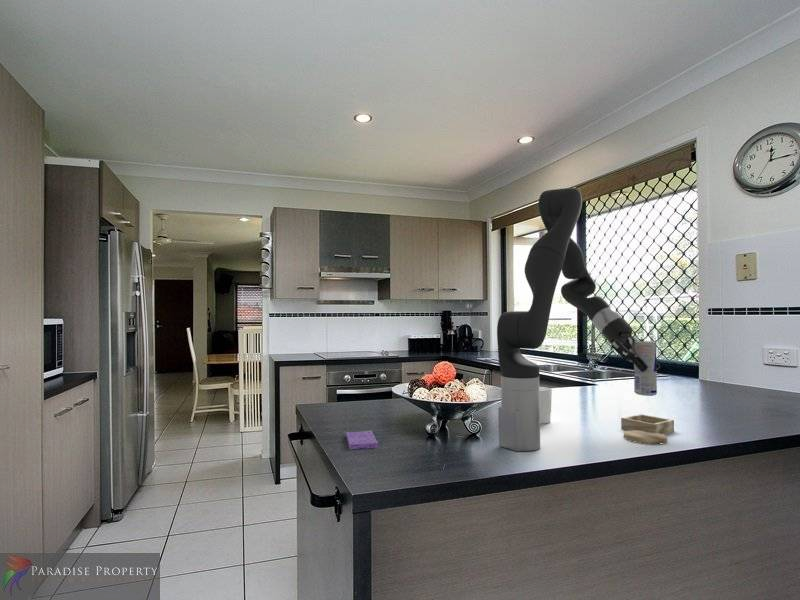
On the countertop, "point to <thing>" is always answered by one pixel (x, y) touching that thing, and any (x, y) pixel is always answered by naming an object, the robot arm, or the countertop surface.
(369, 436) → the sponges
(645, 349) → the beverage can
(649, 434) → the disc
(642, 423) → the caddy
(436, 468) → the countertop surface
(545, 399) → the white cup
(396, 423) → the countertop surface
